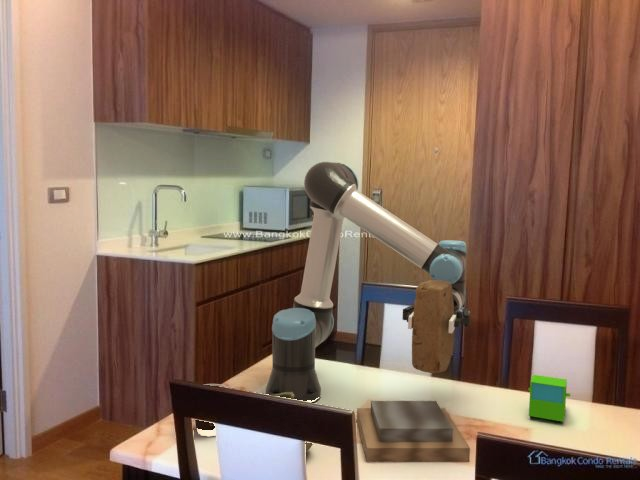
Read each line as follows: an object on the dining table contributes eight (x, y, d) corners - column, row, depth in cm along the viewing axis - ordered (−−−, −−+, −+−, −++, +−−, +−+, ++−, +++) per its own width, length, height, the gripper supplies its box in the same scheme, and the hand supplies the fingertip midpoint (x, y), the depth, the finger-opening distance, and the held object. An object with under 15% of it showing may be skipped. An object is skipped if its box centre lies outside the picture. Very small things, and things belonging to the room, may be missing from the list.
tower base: (366, 461, 125) (367, 434, 125) (356, 419, 147) (357, 396, 147) (469, 461, 126) (470, 434, 126) (444, 419, 148) (445, 396, 147)
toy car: (570, 408, 157) (572, 371, 156) (567, 427, 145) (570, 387, 144) (529, 401, 161) (531, 366, 160) (524, 419, 149) (526, 381, 148)
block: (439, 377, 129) (443, 287, 127) (407, 370, 133) (411, 283, 131) (455, 364, 138) (459, 280, 136) (425, 358, 142) (429, 276, 140)
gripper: (486, 323, 148) (478, 347, 127) (404, 315, 155) (382, 336, 134) (488, 294, 148) (479, 312, 126) (405, 287, 155) (383, 304, 133)
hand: (429, 325), depth 130 cm, fingers closed on block, 8 cm apart
